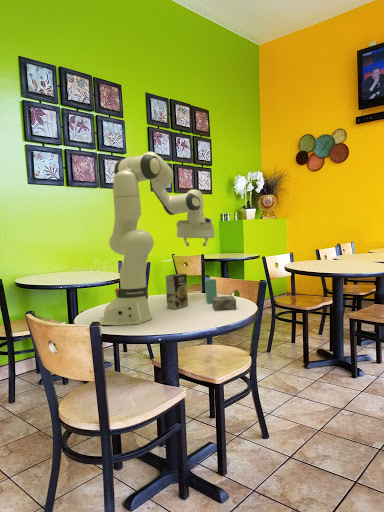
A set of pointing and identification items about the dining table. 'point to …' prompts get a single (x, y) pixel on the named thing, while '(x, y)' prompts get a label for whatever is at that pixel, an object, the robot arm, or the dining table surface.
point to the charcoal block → (223, 303)
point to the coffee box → (176, 291)
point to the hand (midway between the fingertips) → (196, 246)
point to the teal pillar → (210, 290)
